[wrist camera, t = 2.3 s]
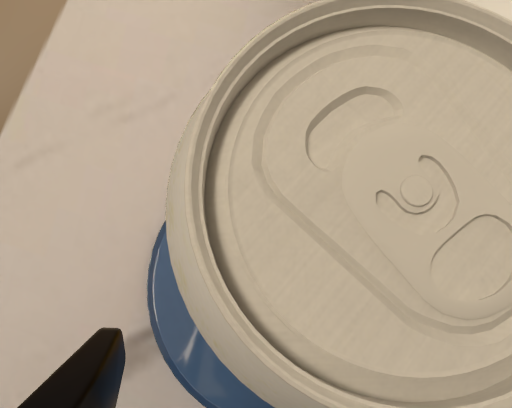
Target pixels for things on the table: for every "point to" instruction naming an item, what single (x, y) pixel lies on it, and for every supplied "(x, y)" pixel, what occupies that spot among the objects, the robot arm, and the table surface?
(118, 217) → the table surface
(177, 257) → the beer can
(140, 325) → the table surface
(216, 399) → the plate
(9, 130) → the table surface
